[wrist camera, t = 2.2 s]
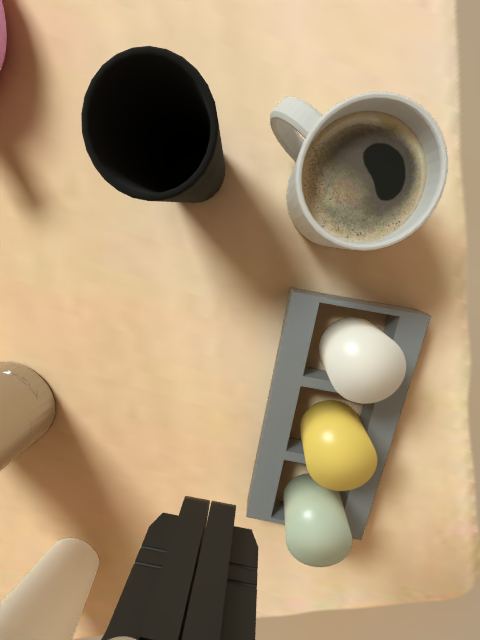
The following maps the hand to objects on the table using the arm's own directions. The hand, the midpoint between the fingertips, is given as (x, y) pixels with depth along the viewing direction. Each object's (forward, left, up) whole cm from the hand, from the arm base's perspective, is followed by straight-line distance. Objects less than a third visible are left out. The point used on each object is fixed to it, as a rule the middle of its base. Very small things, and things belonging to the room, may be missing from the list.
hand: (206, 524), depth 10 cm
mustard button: (-2, -12, -21) cm, 24 cm away
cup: (+7, +13, -24) cm, 28 cm away
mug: (+14, +3, -24) cm, 28 cm away
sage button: (-9, -16, -21) cm, 28 cm away
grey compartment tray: (-2, -12, -24) cm, 27 cm away
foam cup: (-37, -4, -24) cm, 44 cm away
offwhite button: (+5, -8, -21) cm, 23 cm away
